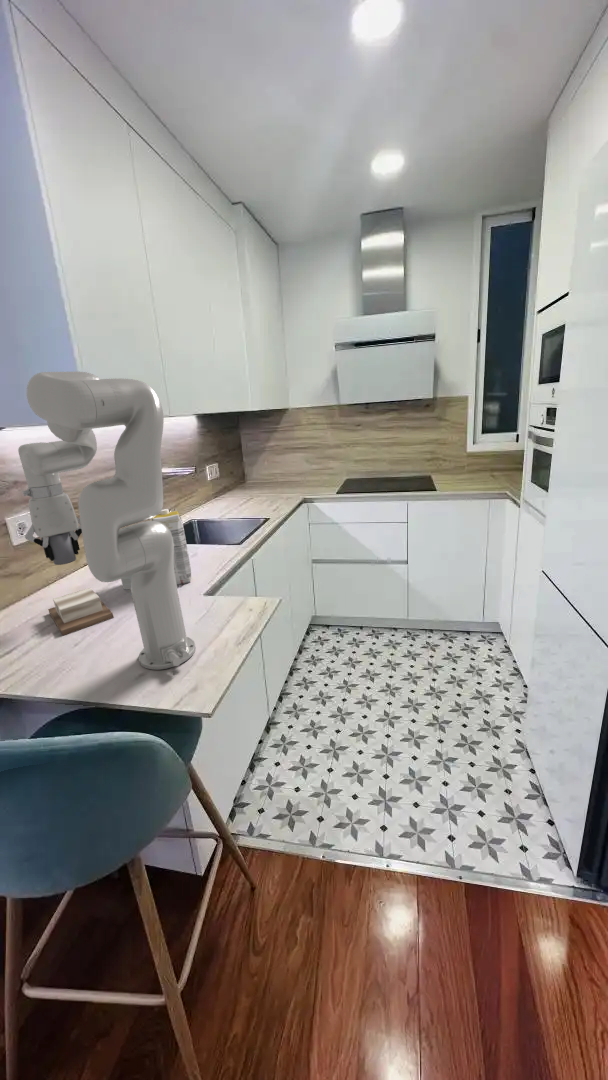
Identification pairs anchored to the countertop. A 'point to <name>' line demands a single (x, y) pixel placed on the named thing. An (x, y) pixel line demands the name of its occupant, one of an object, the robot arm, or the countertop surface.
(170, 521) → the juice carton
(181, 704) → the countertop surface
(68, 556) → the charcoal cylinder
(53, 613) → the plinth base
